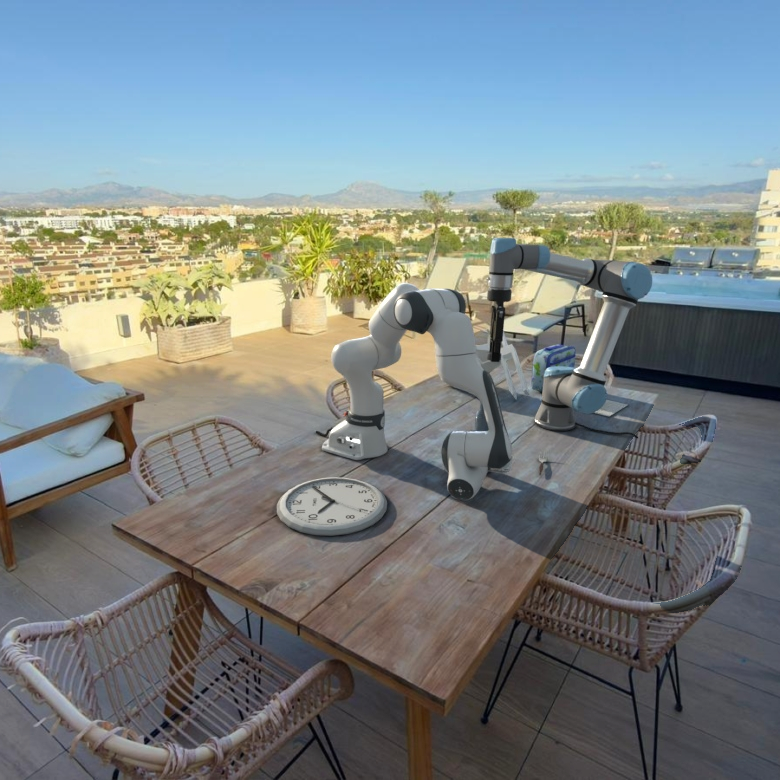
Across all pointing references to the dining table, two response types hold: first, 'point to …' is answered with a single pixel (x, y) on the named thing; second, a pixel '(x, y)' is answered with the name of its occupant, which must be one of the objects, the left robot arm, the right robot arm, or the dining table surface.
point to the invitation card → (610, 408)
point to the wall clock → (331, 506)
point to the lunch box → (550, 362)
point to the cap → (490, 356)
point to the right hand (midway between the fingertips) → (494, 359)
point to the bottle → (481, 420)
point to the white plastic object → (506, 354)
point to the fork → (542, 461)
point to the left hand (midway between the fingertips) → (482, 448)
